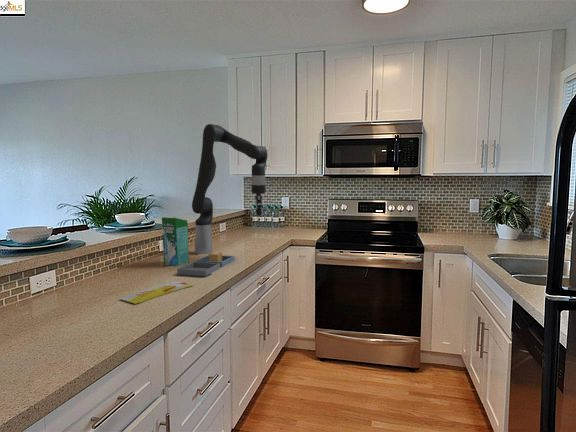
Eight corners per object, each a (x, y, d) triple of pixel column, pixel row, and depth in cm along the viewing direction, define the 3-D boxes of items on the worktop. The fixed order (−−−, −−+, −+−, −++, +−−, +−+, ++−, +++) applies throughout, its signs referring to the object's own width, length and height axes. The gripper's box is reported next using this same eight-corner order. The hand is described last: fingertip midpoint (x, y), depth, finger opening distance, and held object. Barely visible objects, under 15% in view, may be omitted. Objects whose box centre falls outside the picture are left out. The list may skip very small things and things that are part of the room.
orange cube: (209, 263, 191) (208, 253, 190) (213, 261, 196) (213, 252, 195) (217, 264, 190) (217, 254, 189) (222, 262, 194) (222, 252, 194)
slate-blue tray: (196, 266, 188) (195, 260, 187) (209, 260, 202) (209, 254, 201) (222, 268, 184) (222, 262, 183) (234, 261, 198) (234, 256, 197)
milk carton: (189, 263, 196) (187, 216, 193) (177, 266, 187) (175, 217, 185) (175, 261, 199) (173, 215, 197) (163, 265, 191) (161, 217, 188)
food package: (134, 300, 132) (118, 295, 137) (135, 306, 132) (119, 301, 138) (194, 282, 154) (178, 278, 160) (194, 287, 154) (178, 283, 160)
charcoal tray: (177, 275, 171) (177, 268, 171) (193, 267, 185) (193, 261, 185) (205, 277, 167) (205, 270, 167) (220, 269, 181) (220, 263, 181)
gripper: (251, 183, 203) (251, 213, 204) (251, 184, 188) (251, 216, 190) (264, 183, 203) (265, 213, 205) (266, 184, 189) (266, 216, 191)
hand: (258, 214), depth 198 cm, fingers open, 8 cm apart
